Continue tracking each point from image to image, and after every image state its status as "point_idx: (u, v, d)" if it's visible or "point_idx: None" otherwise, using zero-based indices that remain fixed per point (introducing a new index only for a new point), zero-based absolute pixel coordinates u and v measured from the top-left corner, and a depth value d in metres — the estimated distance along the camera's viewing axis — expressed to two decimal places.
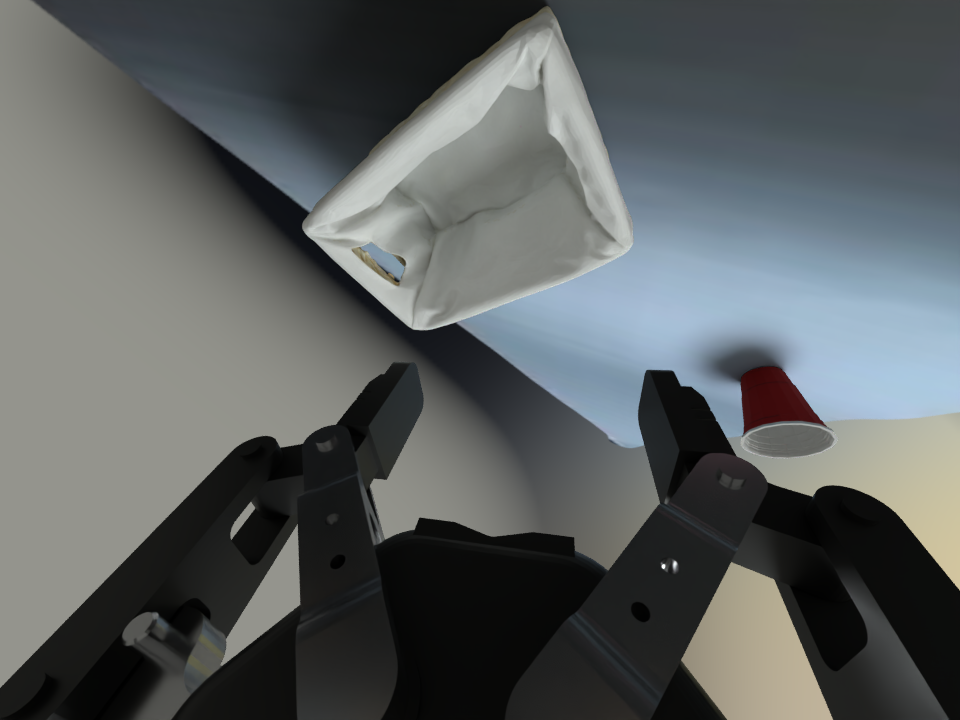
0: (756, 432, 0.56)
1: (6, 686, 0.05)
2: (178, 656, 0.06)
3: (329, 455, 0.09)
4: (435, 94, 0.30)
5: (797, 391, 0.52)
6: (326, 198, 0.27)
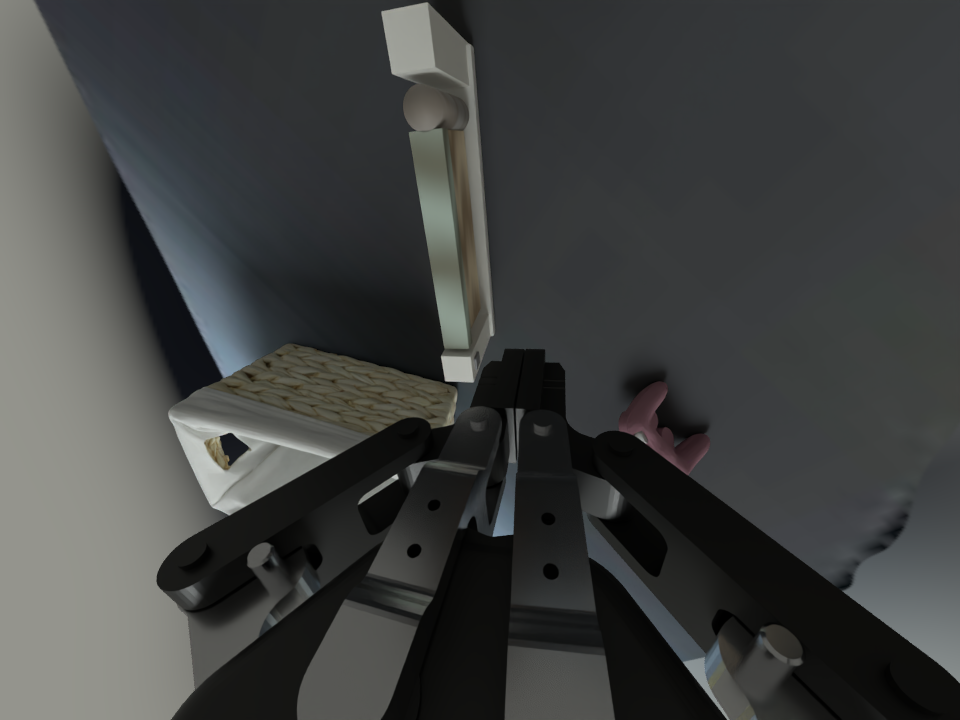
0: None
1: (196, 535, 0.07)
2: (274, 594, 0.07)
3: (472, 437, 0.09)
4: (362, 370, 0.38)
5: None
6: (213, 417, 0.29)
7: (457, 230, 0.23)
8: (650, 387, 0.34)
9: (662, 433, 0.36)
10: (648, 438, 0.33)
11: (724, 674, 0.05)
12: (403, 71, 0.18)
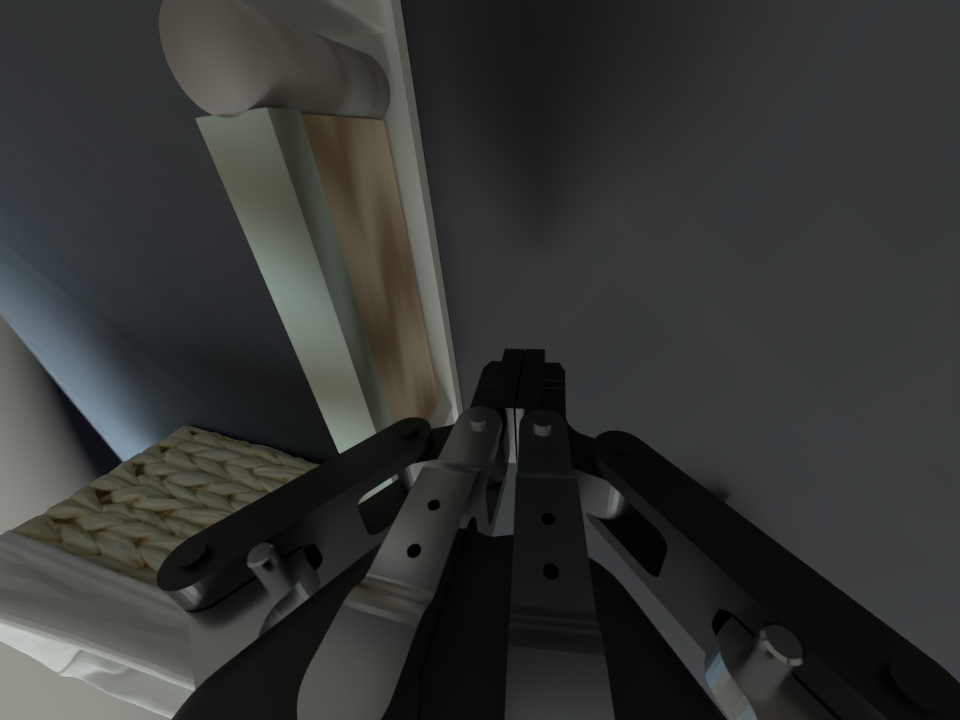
0: None
1: (196, 535, 0.07)
2: (273, 594, 0.07)
3: (472, 437, 0.09)
4: (278, 473, 0.27)
5: None
6: None
7: (354, 322, 0.11)
8: None
9: None
10: None
11: (724, 674, 0.05)
12: None
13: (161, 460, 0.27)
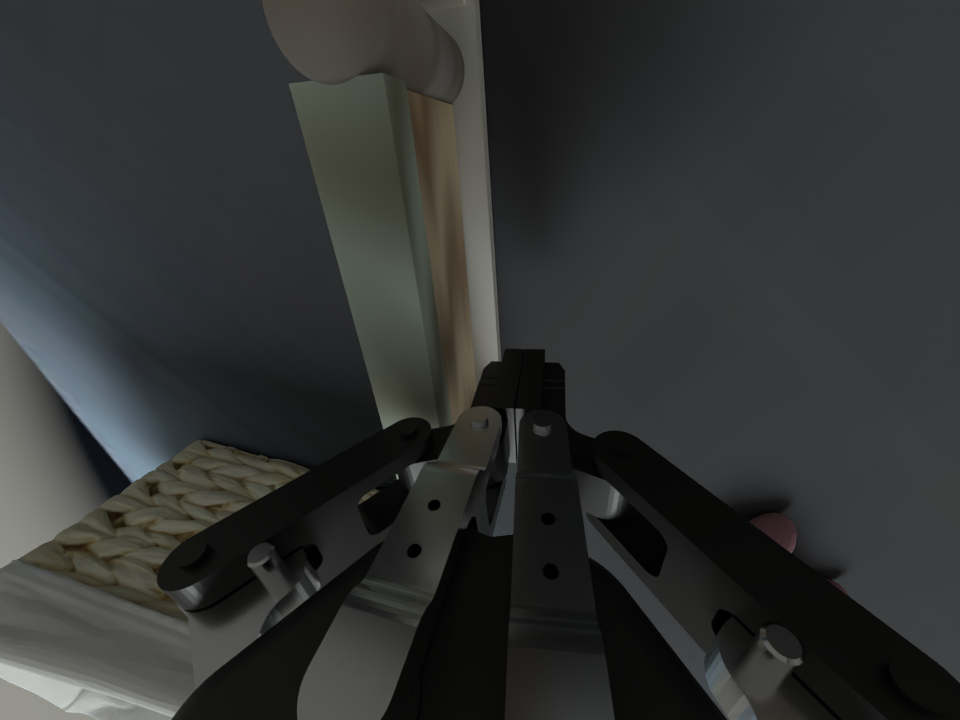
0: None
1: (196, 535, 0.07)
2: (274, 594, 0.07)
3: (473, 437, 0.09)
4: None
5: None
6: None
7: (433, 327, 0.10)
8: (765, 524, 0.21)
9: None
10: None
11: (724, 674, 0.05)
12: None
13: (176, 478, 0.25)
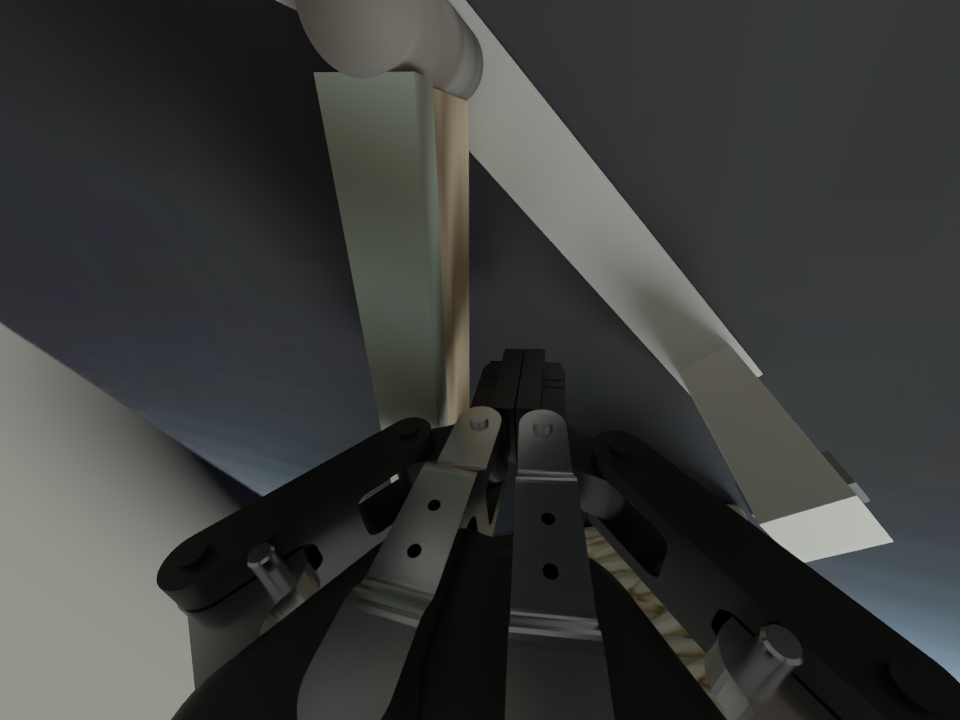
0: None
1: (197, 535, 0.07)
2: (274, 594, 0.07)
3: (473, 437, 0.09)
4: None
5: None
6: None
7: (439, 328, 0.10)
8: None
9: None
10: None
11: (724, 673, 0.05)
12: None
13: None
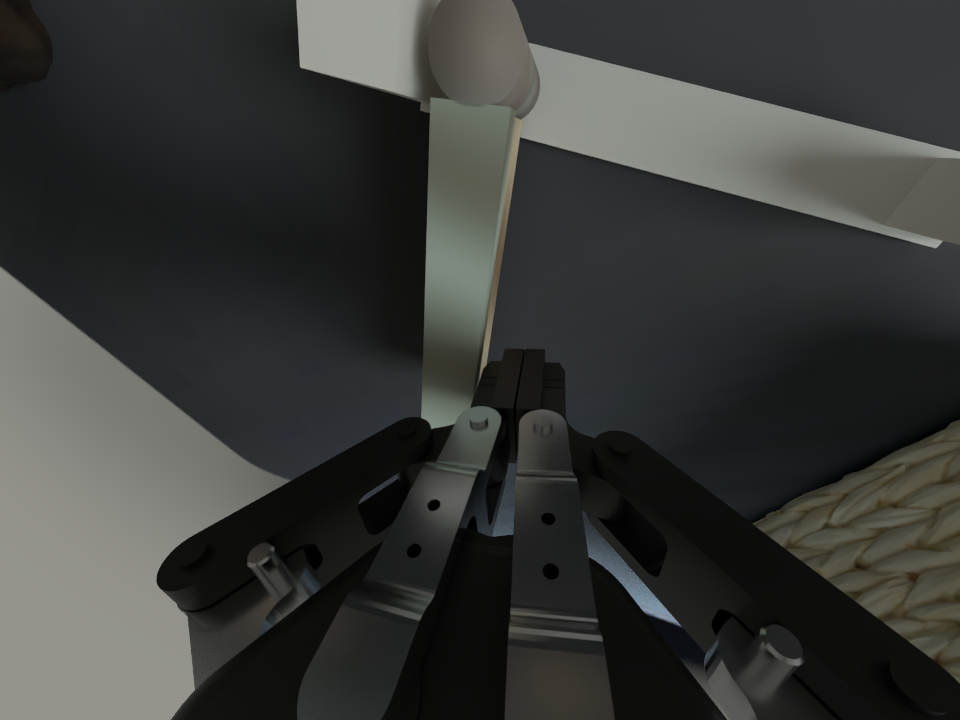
0: None
1: (196, 535, 0.07)
2: (273, 594, 0.07)
3: (472, 437, 0.09)
4: (861, 504, 0.19)
5: None
6: None
7: (486, 310, 0.12)
8: None
9: None
10: None
11: (724, 674, 0.05)
12: (396, 56, 0.08)
13: None
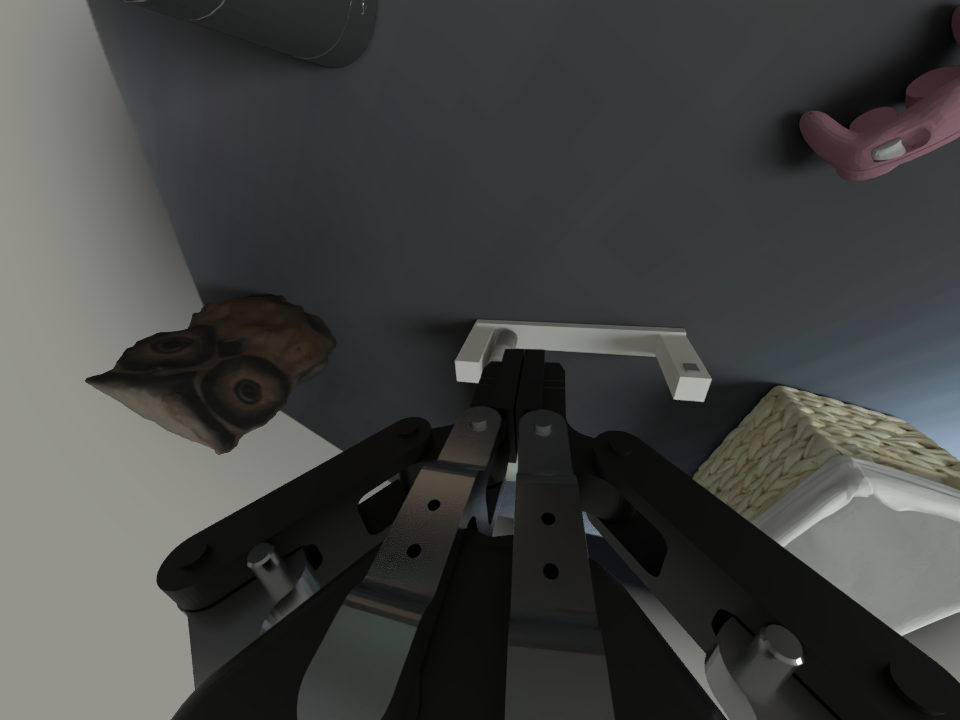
0: None
1: (196, 535, 0.07)
2: (273, 594, 0.07)
3: (472, 436, 0.09)
4: (718, 461, 0.41)
5: None
6: None
7: None
8: (804, 134, 0.26)
9: (913, 96, 0.23)
10: (891, 138, 0.22)
11: (724, 674, 0.05)
12: (479, 377, 0.34)
13: None
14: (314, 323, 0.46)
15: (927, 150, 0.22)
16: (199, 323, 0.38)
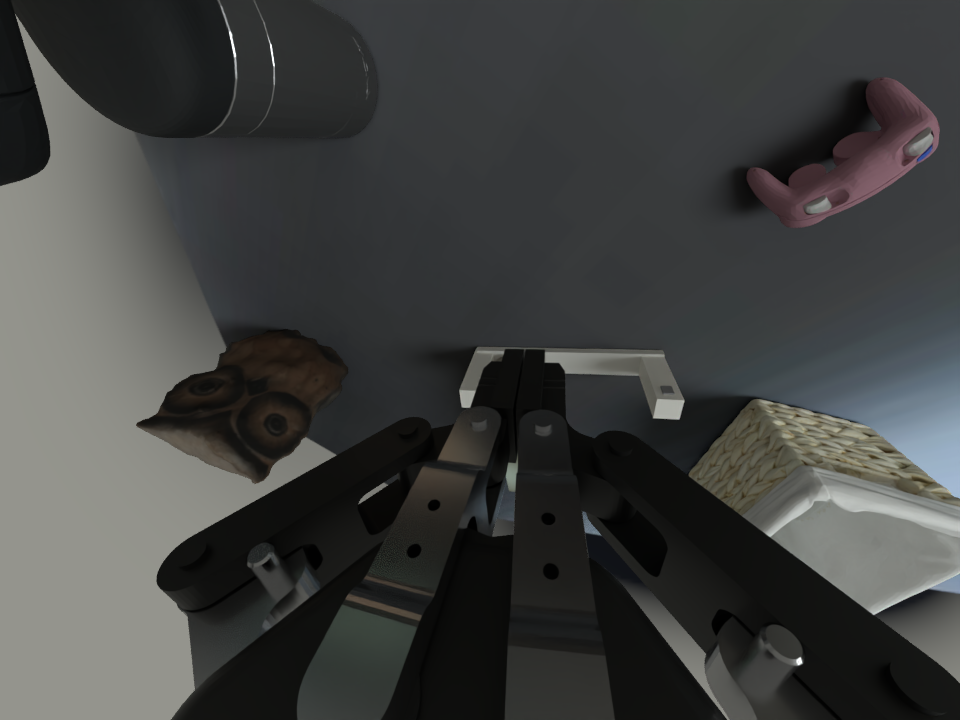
0: None
1: (196, 535, 0.07)
2: (274, 594, 0.07)
3: (472, 437, 0.09)
4: (705, 467, 0.45)
5: None
6: None
7: None
8: (751, 186, 0.30)
9: (838, 156, 0.28)
10: (818, 196, 0.26)
11: (724, 674, 0.05)
12: None
13: None
14: (328, 354, 0.50)
15: (848, 206, 0.26)
16: (227, 363, 0.42)
